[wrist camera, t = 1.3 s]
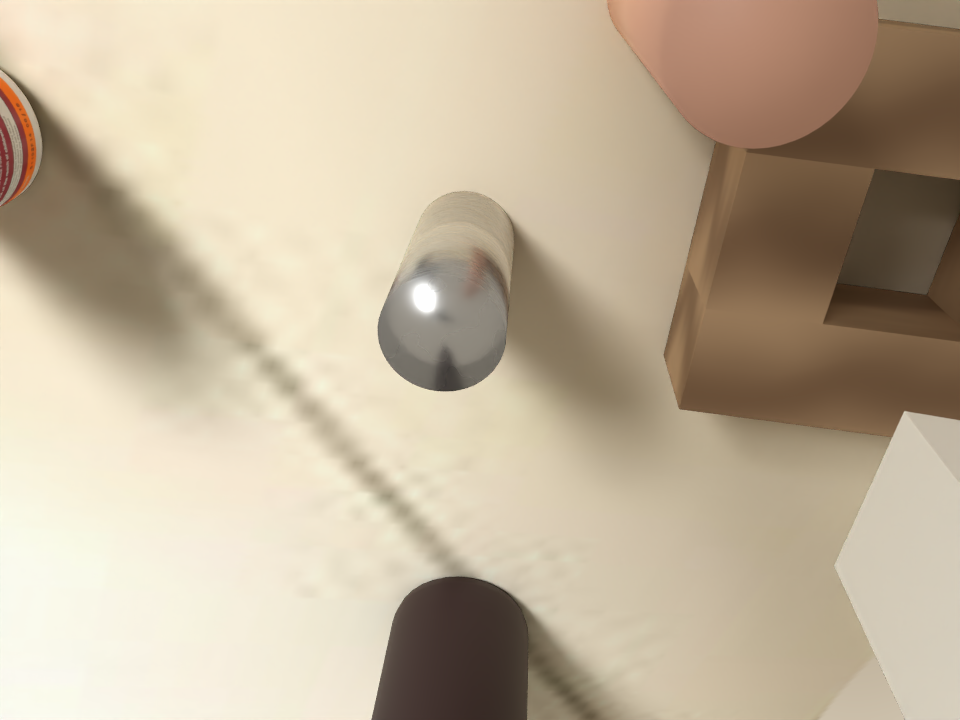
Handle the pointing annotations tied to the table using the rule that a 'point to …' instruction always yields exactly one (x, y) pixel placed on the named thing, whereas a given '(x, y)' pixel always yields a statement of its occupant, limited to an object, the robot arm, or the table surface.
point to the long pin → (752, 61)
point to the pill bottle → (17, 141)
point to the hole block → (825, 262)
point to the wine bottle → (455, 655)
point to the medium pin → (451, 295)
